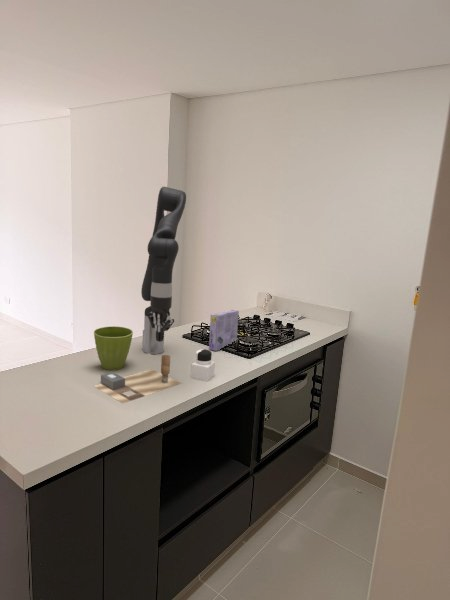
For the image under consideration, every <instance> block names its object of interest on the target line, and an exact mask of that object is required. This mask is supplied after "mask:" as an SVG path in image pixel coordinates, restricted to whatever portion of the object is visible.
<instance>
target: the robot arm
mask: <svg viewBox="0 0 450 600" xmlns="http://www.w3.org/2000/svg"><path fill="white" fill-rule="evenodd" d="M186 203H187V194H186V192H185V191H184V190H180V189H177V188H173V187H172V188H171V187H168V186H162V187H160V189H159V192H158V195H157V203H156V212H155V220H154V221H155V222H154V227H153V232H152V236H151V238H150V239H149V241H148V244H147V253H148V260H147V264H146V270H145V273H144V277H143V280H142V284H141V291H140V292H141V297H142V299H143V301H146V302H150V303H149V304H150V306H147V307H146V308H145V310H144V321H143V322H144V324H143V330H142V341H141V342H142V343H141V344H142V348H141V349H142V351H143V352H144V353H145V354H150V355H158V354H159V355H160V354H162V353H164V350H165V349H164V348H165V347H164V346H165V345H164V344H165V332H168V331H169V330H170V329H171V327H172V326H173V324H174V323H175V319H174V318H172V317H171V312H170V309H171V308H172V303H173V283H172V282H173V269H174V265H175V262H176V259H177V256H178V253H179V248H180V247H179V243H178V241H177V240H176V236H177V231H178V226H179V223H180V221H181V218H182V215H183V214H184V210H185V207H186ZM165 211H166V212H170V213H167V214H166V215H165Z"/></svg>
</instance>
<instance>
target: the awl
mask: <svg viewBox="0 0 450 600" xmlns="http://www.w3.org/2000/svg"><path fill="white" fill-rule="evenodd" d="M160 359H161V360H160V361H161V365H160V373H161V374H162V382H163V383H167V382H168V377H169V374H170V372H171V371H170V370H171V355H169V354H163V355H161V358H160Z"/></svg>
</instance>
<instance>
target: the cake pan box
mask: <svg viewBox="0 0 450 600" xmlns="http://www.w3.org/2000/svg"><path fill="white" fill-rule="evenodd" d="M239 313H240V311H239V310H235V309H229V310H225V311H221V312H216V313H212V314H210V323H209V325H210V326H209V341H208V342H209V343H208V349H209V350H211V351H215V352H218V351H220V349H221V348H222V347H224V346H226V345H228V344H231V343H232V342H234V341H236V340H238V326H239ZM221 350H222V349H221Z"/></svg>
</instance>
